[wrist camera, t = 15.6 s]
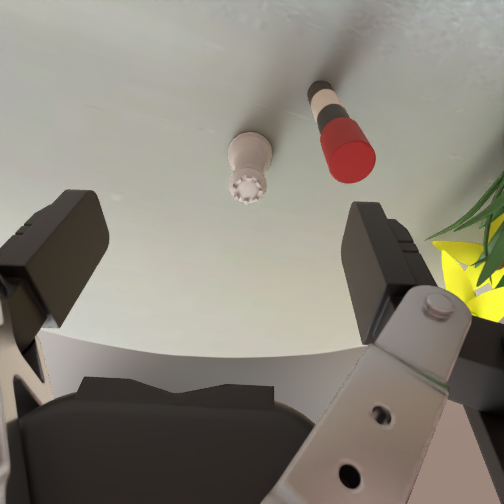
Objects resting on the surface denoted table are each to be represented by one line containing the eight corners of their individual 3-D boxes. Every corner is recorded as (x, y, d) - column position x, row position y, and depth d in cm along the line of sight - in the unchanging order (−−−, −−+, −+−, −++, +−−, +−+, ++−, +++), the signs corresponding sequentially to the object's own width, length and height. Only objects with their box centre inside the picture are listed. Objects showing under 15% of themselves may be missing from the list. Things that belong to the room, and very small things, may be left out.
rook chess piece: (260, 122, 32) (260, 157, 26) (279, 162, 34) (282, 202, 28) (220, 142, 33) (210, 179, 27) (240, 178, 36) (236, 221, 29)
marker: (337, 78, 29) (382, 142, 18) (331, 109, 31) (369, 185, 20) (307, 76, 29) (334, 139, 18) (303, 107, 31) (325, 182, 20)
